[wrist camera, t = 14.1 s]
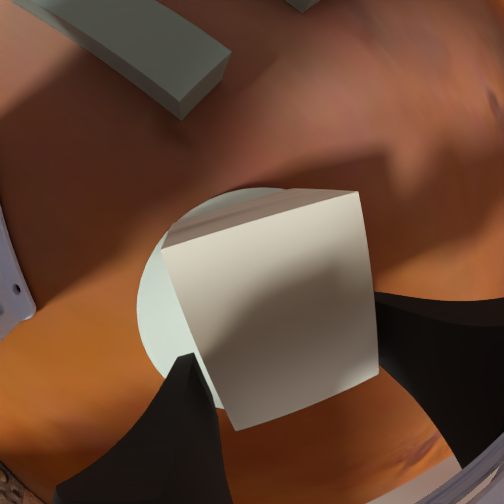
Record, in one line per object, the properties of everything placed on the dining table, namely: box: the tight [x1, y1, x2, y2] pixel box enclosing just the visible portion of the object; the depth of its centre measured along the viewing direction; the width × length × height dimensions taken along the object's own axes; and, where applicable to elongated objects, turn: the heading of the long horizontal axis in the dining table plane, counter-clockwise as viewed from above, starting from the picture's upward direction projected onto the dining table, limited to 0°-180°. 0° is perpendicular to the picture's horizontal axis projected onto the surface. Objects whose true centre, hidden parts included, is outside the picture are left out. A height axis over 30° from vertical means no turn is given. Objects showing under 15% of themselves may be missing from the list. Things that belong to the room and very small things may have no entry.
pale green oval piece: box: [137, 187, 286, 409], centre depth 13 cm, size 11×11×1 cm
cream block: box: [160, 188, 379, 431], centre depth 10 cm, size 6×5×5 cm
